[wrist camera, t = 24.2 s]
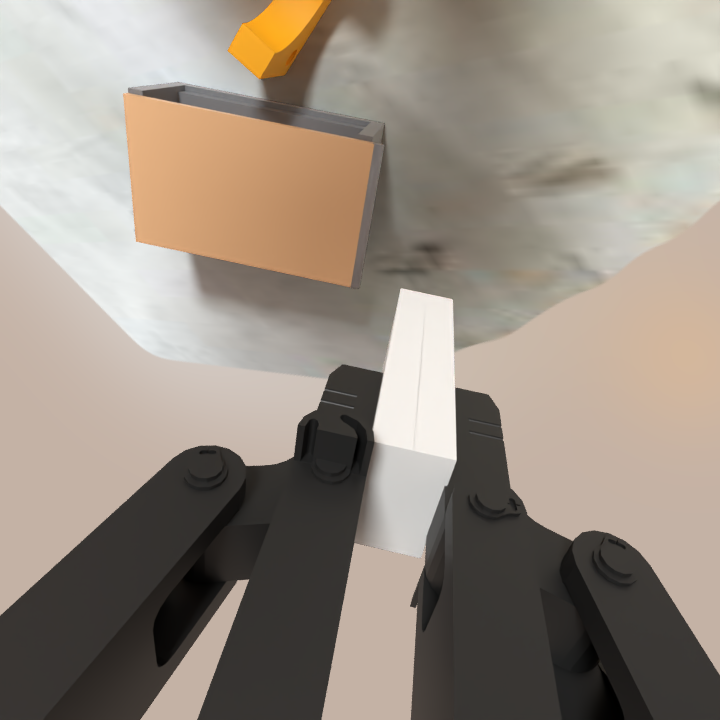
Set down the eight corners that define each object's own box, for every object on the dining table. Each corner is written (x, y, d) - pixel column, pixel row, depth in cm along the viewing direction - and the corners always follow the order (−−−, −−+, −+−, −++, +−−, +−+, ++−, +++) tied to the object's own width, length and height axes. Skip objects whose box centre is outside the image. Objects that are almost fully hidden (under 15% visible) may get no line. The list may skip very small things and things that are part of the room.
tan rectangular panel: (128, 92, 34) (122, 93, 33) (385, 144, 33) (383, 146, 33) (140, 238, 40) (135, 241, 39) (360, 285, 39) (358, 289, 38)
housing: (178, 82, 40) (128, 87, 34) (384, 123, 40) (372, 137, 33) (182, 216, 46) (140, 242, 40) (362, 253, 46) (348, 286, 39)
